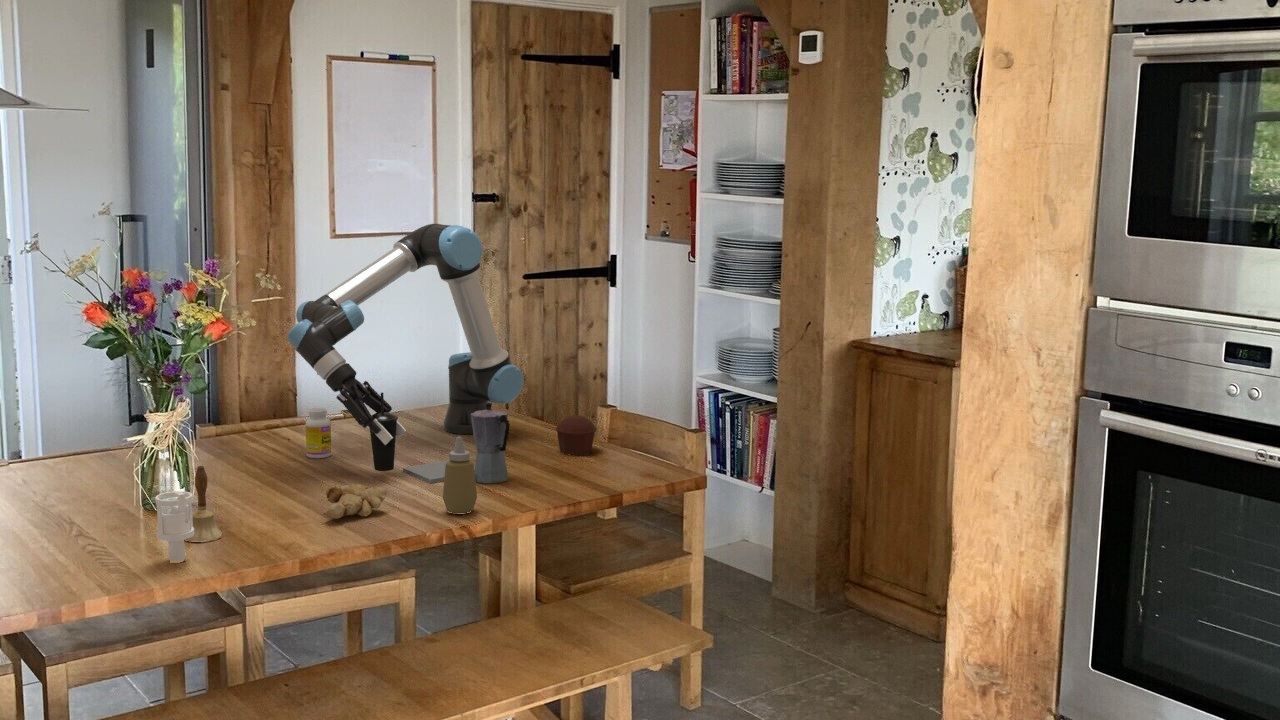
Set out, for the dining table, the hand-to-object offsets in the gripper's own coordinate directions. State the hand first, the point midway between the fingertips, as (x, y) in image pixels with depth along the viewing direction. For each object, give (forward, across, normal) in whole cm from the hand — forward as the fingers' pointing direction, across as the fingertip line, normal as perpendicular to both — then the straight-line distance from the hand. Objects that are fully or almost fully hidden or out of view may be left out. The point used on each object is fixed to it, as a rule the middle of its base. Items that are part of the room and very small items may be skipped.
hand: (395, 437), depth 320 cm
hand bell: (-6, +57, -20) cm, 60 cm away
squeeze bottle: (+27, +23, +12) cm, 37 cm away
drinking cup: (+4, 0, -9) cm, 9 cm away
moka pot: (+25, -5, +10) cm, 27 cm away
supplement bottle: (-13, -13, -28) cm, 34 cm away
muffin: (+33, -40, +17) cm, 54 cm away
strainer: (-3, +72, -17) cm, 74 cm away
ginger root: (+10, +31, -5) cm, 33 cm away
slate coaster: (+14, -7, -1) cm, 16 cm away
